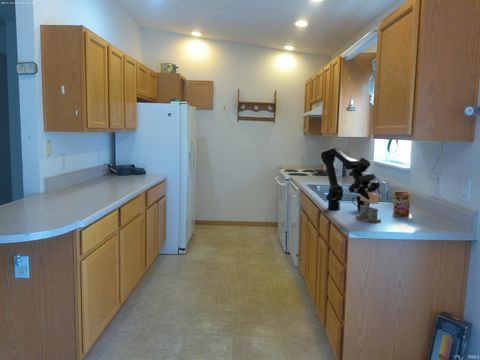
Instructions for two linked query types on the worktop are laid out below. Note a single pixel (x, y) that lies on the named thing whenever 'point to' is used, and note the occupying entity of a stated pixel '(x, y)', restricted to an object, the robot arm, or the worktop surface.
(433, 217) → the worktop surface
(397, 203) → the candy box
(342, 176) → the worktop surface
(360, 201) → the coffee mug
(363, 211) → the ticket stand
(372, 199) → the tan wooden block
